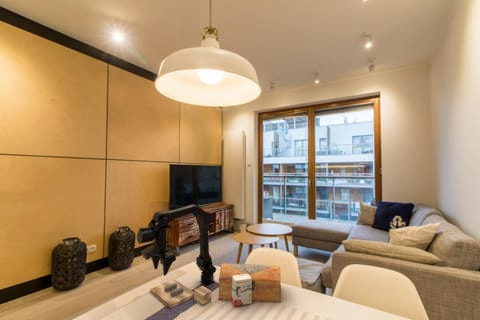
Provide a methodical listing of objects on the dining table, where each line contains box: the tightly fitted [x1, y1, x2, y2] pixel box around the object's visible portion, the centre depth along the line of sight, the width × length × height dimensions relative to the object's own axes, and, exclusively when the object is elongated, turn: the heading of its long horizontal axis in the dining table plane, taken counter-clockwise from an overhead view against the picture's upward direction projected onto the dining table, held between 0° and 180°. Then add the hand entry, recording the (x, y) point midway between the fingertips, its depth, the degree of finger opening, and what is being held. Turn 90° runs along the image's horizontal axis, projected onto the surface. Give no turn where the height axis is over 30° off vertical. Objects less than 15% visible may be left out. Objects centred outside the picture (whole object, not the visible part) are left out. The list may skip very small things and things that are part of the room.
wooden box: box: [218, 262, 282, 304], centre depth 118 cm, size 30×16×14 cm, turn 84°
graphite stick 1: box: [164, 283, 177, 292], centre depth 119 cm, size 6×2×2 cm, turn 136°
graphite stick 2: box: [170, 287, 183, 297], centre depth 114 cm, size 6×2×2 cm, turn 136°
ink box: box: [231, 274, 252, 307], centre depth 109 cm, size 9×5×12 cm, turn 107°
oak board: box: [150, 279, 194, 309], centre depth 117 cm, size 14×20×2 cm
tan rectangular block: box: [193, 285, 213, 307], centre depth 111 cm, size 5×7×5 cm
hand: (160, 272), depth 110 cm, fingers open, 9 cm apart
